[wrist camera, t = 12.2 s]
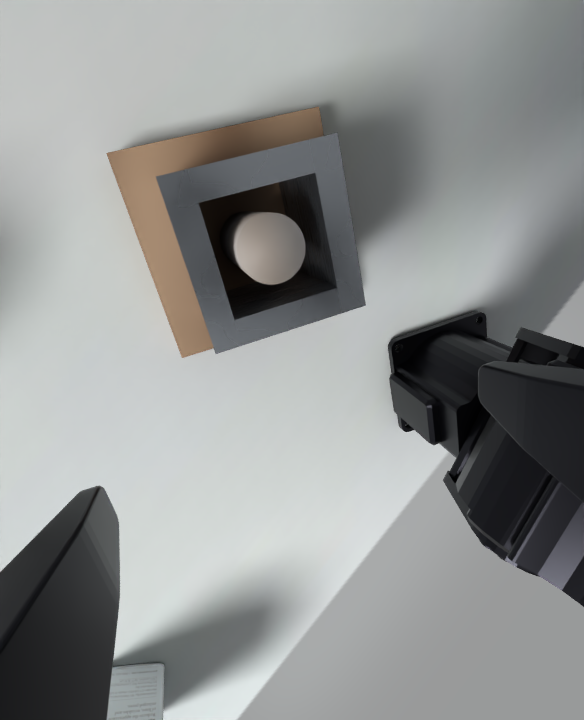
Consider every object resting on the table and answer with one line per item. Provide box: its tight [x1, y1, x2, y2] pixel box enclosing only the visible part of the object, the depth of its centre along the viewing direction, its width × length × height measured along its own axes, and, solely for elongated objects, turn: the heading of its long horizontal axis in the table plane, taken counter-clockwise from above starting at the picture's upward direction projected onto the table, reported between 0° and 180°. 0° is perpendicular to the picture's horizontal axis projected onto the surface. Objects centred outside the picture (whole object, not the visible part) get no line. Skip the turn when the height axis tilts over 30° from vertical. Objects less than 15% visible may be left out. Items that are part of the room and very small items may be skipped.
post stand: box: [107, 107, 324, 358], centre depth 17 cm, size 9×9×6 cm
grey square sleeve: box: [156, 133, 366, 354], centre depth 16 cm, size 6×6×5 cm
